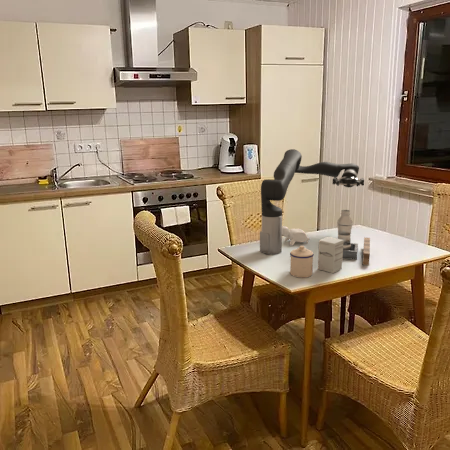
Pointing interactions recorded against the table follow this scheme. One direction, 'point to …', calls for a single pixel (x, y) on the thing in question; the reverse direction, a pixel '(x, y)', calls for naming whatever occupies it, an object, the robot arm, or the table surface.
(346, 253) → the keeper
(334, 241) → the supplement box
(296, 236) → the white piece
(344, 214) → the silver bottle
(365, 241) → the wooden plank
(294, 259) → the teacup with lid
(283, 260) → the table surface
